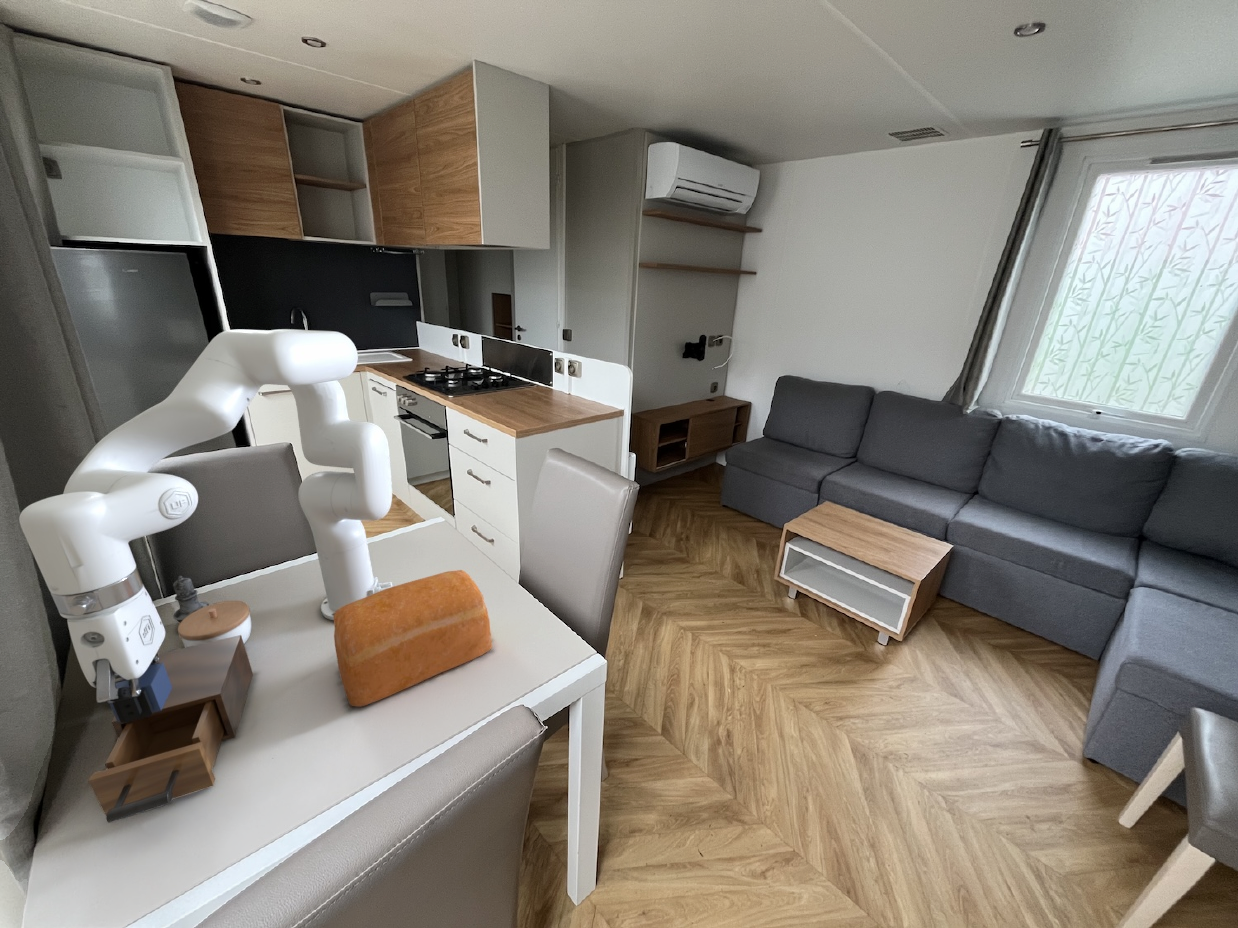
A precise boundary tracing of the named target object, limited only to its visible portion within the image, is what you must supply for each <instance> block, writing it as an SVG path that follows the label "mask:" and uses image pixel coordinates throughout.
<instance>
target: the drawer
mask: <svg viewBox="0 0 1238 928" xmlns="http://www.w3.org/2000/svg"><path fill="white" fill-rule="evenodd" d="M224 731H225V726H224V723H223V720H222V717H221V715H220V712H219V709H218V706H217V703H216V700H211V701H207V702H203V703H199V704H196V705H192V706H188V707H184V708H181V709H177V710H173V711H169V712H166V713H162V714H158V715H154V716H150V717H147V718H143V719H139V720H135V721H132V722H128V723H127V724H126V726H125V728H124V729H123V731H122V733H121V735H120V737H119V738H118V739H117V741H115V744H114V746H113V748H112V750H111V751H110V754H109V755H108V756H107V759H106V761H105V763H104V765H105V767H106V769H104V770H103V769H102V770H100V771H97V772H93V773H92V774H91V776H90V777H89V779H88V780H87V781H88V784H89V785H90V788H91V789H92V792H93V793H94V796H95V797H96V799H97V801H98V803H99V806H100V808H101V809H102V811H103V814H104V815H105V819H106V822H107V823H108V824H110V823H113V822H117V821H119V820H123V819H125V818H128V817H131V816H135V815H137V814H141V813H144V812H148V811H150V810H153V809H157V808H160V807H162V806H165V805H168V804H171V803H172V801H173V799H177V798H180V797H184V796H186V795H189V794H192V793H196V792H199V791H202V790H205V789H208V788H211V787H213V786H214V785H215V782H216V776H215V773H214V771H213V768H214V765H215V762H216V759H217V756H218V752H219V749H220V745H221V743H222V742H221V740H222V737H223V734H224Z"/></svg>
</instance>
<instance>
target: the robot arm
mask: <svg viewBox="0 0 1238 928" xmlns="http://www.w3.org/2000/svg"><path fill="white" fill-rule="evenodd" d="M355 345H356V344H355V343H354V342H353V341H352V339H351V338H349V337H348V336H347V335H345V334H344V333H342V332H339V331H333V330H313V329H311V330H308V329H293V328H291V329H290V328H281V329H280V328H278V329H271V330H268V329H267V330H266V329H245V328H244V329H243V328H242V329H238V328H237V329H228V330H225V331H222V332H219V333H218V334H217V335H216V336H214V337H213V338H212V339H211V340H210V342H209V343H208V344H207V346H205V348H204V349H203V350H202V352H201V353H200V355H199V356H198V357H197V359H196V360H195V361H194V363H193V364H192V365H191V367H190V368H189V369H188V370H187V372H186V373H185V374H184V376H183V377H182V378H181V380H180V381H179V382H178V383H177V385H176V386H175V387H174V388H173V390H172V391H171V393H170V394H169V395H168V396H167V397H166V398H165V399H164V400H162V401H160V402H159V403H157V404H155V405H154V406H151V407H149V408H148V409H146V410H144V411H142V412H141V413H139V414H137V415H135V416H134V417H132V418H131V419H129V420H128V421H126V422H123V424H121V425H119V426H118V427H116V428H115V429H113V430H111V431H110V432H108V434H106V435H105V436H104V437H103V438H102V439H100V440H99V441H98V442H97V443H96V444H95V446H93V447H92V448H91V450H90V451H89V452H88V453H87V455H86V456H85V457H84V458H83V459H82V461H81V462H80V463H79V464H78V466H77V467H76V468H75V470H74V471H73V472H72V474H71V475H70V477H69V479H68V480H67V483H66V484H65V486H64V490H63V493H62V494H58V495H53V496H49V497H46V498H43V499H40V500H38V501H35V502H32V503H31V504H29V505H28V506H26V507H25V508H24V509H23V510H22V511H21V512H20V515H19V518H18V519H19V520H18V521H19V525H20V528H21V531H22V533H23V535H24V537H25V540H26V542H27V544H28V546H29V548H30V551H31V553H32V555H33V557H34V559H35V562H36V564H37V566H38V568H39V571H40V573H41V575H42V577H43V580H44V581H45V585H46V587H47V588H48V591H49V592H50V595H51V598H52V600H53V601H54V604H55V606H56V608H57V611H58V613H59V615H60V617H62V618H64V619H67V620H66V621H67V627H68V630H69V636H70V640H71V643H72V645H73V650H74V652H75V655H76V658H77V661H78V663H79V666H80V669H81V671H82V673H83V675H84V677H85V679H86V681H87V682H88V684H89V685H90V686H91V687H93V688H95V689H96V703H98V704H100V703H101V704H102V703H105V702H106V703H107V701H109V703H113V706H114V708H115V710H116V713H117V715H118V717H119V720H120V722H121V723H126V722H130V721H134V720H138V719H142V718H145V717H149V716H151V715H152V713H153V708H152V706H151V703H150V701H149V698H148V696H147V693H146V691H145V690H141V689H140V685H139V680H138V678H139V677H140V676H142V675H143V674H144V672H145V671H146V670H147V668H148V667H149V666H150V665H154V664H155V663H156V662H158V661H159V655H158V654H159V653H158V651H159V650H160V648H161V645H162V644H163V642H164V640H165V638H166V629H165V627H164V624H163V622H162V619H161V617H160V615H159V613H158V610H157V608H156V606H155V604H154V601H153V600H152V597H151V595H150V593H149V592H148V591H147V589H146V587H145V585H144V583H143V580H142V577H141V575H140V571H139V570H138V569H139V568H138V567H137V563H136V561H135V558H134V555H133V553H132V550H131V547H130V545H129V543H130V542H131V541H133V540H138V539H140V538H143V537H146V536H147V537H148V536H150V535H153V534H157V533H160V532H163V531H167V530H170V529H172V528H174V527H176V526H179V525H180V524H183V523H185V521H186V520H188V519H189V518H190V517H192V515H193V514H194V513H195V511H196V509H197V506H198V504H199V494H198V491H197V489H196V487H195V486H194V484H192V483H191V482H190V481H188V480H187V479H185V478H182V477H180V476H177V475H173V474H168V473H161V472H160V473H159V472H149V471H151V469H152V468H154V466H156V464H158V463H159V462H161V460H163V459H165V458H166V457H168V456H170V455H172V454H174V453H175V452H178V451H180V450H182V449H186V448H189V447H191V446H194V445H197V444H200V443H204V442H208V441H210V440H212V439H216V438H218V437H221V436H223V435H226V434H228V433H229V432H231V431H233V430H234V429H235V428H236V426H237V424H238V423H239V421H240V420H241V418H242V417H243V415H244V414H245V412H246V410H247V409H248V407H249V406H250V404H251V403H252V401H253V399H254V398H255V397H256V395H257V394H258V392H259V390H260V389H261V388H262V387H263V386H265V385H276V386H287V387H288V389H289V390H290V391H291V393H292V395H293V397H294V401H295V405H296V412H297V420H298V426H299V427H298V428H299V436H300V443H301V449H302V455H303V457H304V458H305V460H306V461H307V462H308V463H310V464H312V465H315V466H320V467H321V466H322V467H329V468H330V467H331V468H344V469H352V470H353V472H348V471H336V470H335V471H333V470H324V471H318V472H314V473H312V474H309V475H308V476H306V477H305V478H304V479H303V480H302V482H301V483H300V485H299V488H298V492H297V494H298V495H297V497H298V503H299V505H300V509H301V510H302V513H303V514H304V517H305V518H306V520H307V523H308V524H309V527H310V530H311V533H312V536H313V541H314V545H315V549H316V554H317V558H318V563H319V567H320V568H319V569H320V572H321V576H322V581H323V586H324V590H325V593H326V597H325V598H324V599H323V601H322V603H321V604H320V611H321V614H322V616H323V617H324V618H325V619H328V620H330V621H334V616H333V615H334V614H335V612H336V611H337V610H338V609H340V608H341V607H343V606H345V605H347V604H350V603H352V602H355V601H357V600H360V599H363V598H365V597H368V596H370V595H373V594H375V593H377V592H380V591H382V590H385V589H387V588H391V587H394V586H395V585H393V582H392V581H386V582H381V581H379V578H378V576H374V574H373V573H374V572H373V568H372V561H371V556H370V551H369V546H368V540H367V533H366V530H365V527H364V524H363V523H362V521H363V522H365V521H366V522H374V521H378V520H382V519H383V518H384V517H386V516H387V515H388V513H389V511H390V510H391V506H392V502H393V482H392V469H391V457H390V456H391V455H390V453H391V452H390V445H389V440H388V438H387V435H386V433H385V432H384V430H383V429H382V428H381V427H380V426H379V425H377V424H376V423H373V422H370V421H364V420H363V421H362V420H351V419H350V417H349V413H348V407H347V399H346V395H345V391H344V389H343V387H342V385H341V383H340V382H339V381H340V380H344V379H346V378H348V377H350V375H352V374H353V373H354V371H355V370H356V368H357V365H358V361H359V355H358V354H359V353H358V349H357V348H356V346H355ZM156 664H159V663H156ZM115 673H117V674H118V675H115ZM126 680H128V684H129V687H122V688H117V687H116V683H118V682H122V681H126ZM109 703H108V704H109Z"/></svg>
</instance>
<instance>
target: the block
mask: <svg viewBox="0 0 1238 928" xmlns="http://www.w3.org/2000/svg"><path fill="white" fill-rule="evenodd" d="M138 680H139V685H140V689H141V690H145V691H146V693H147V696H148V698H149V701H150V703H151V706H152V708H153V713H154V712H158V711H161V710H162V708H163V706H164V704H165V702H166V700H167V698H168V695H169V693H170V691H171V689H172V685H171V682H170V680H169V677H168V674H167V672H166V669H165V667H164V664H163V663H159V664H154V665H150V666H149V667H148V668H147V670H146V671H145V672H144V674H143V675H142V676H140V677H139V678H138ZM116 687H117V688H122V687H129V684H128V680H126V681H122V682H118V683H116ZM108 702H109V701H108ZM108 704H109V707H110V708H111V711H112V713H113V716H114V717H115V718H116V720H117V722H120V720H119V717H118V715H117V713H116V710H115V708H114V706H113V703H108Z"/></svg>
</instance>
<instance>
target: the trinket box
mask: <svg viewBox="0 0 1238 928" xmlns="http://www.w3.org/2000/svg"><path fill="white" fill-rule="evenodd" d="M250 612H251V611H250V606H249V605H248V603H246V602H244V601H241V600H224V601H220V602H214V603H212V604H209V606H206V607H203V608H201V609H199V610H197V611H195V612H193V613H192V614H190V615H189V616H187V617H186V618H185V619H184V620H183V621H182V622H181V623H179V624H178V627H177V633H178V635H179V637H180V638H181V641H182V643H183V645H184V648H186V647H190V646H194V645H199V644H203V643H208V642H212V641H217V640H221V639H225V638H230V637H234V636H239V635H241V636H242V640H243V643H244V645H245V644H246V643H247V641H248V640H249V638H250V635H251V633H252V629H253V627H252V625H253V624H252V617H251V613H250Z"/></svg>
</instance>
